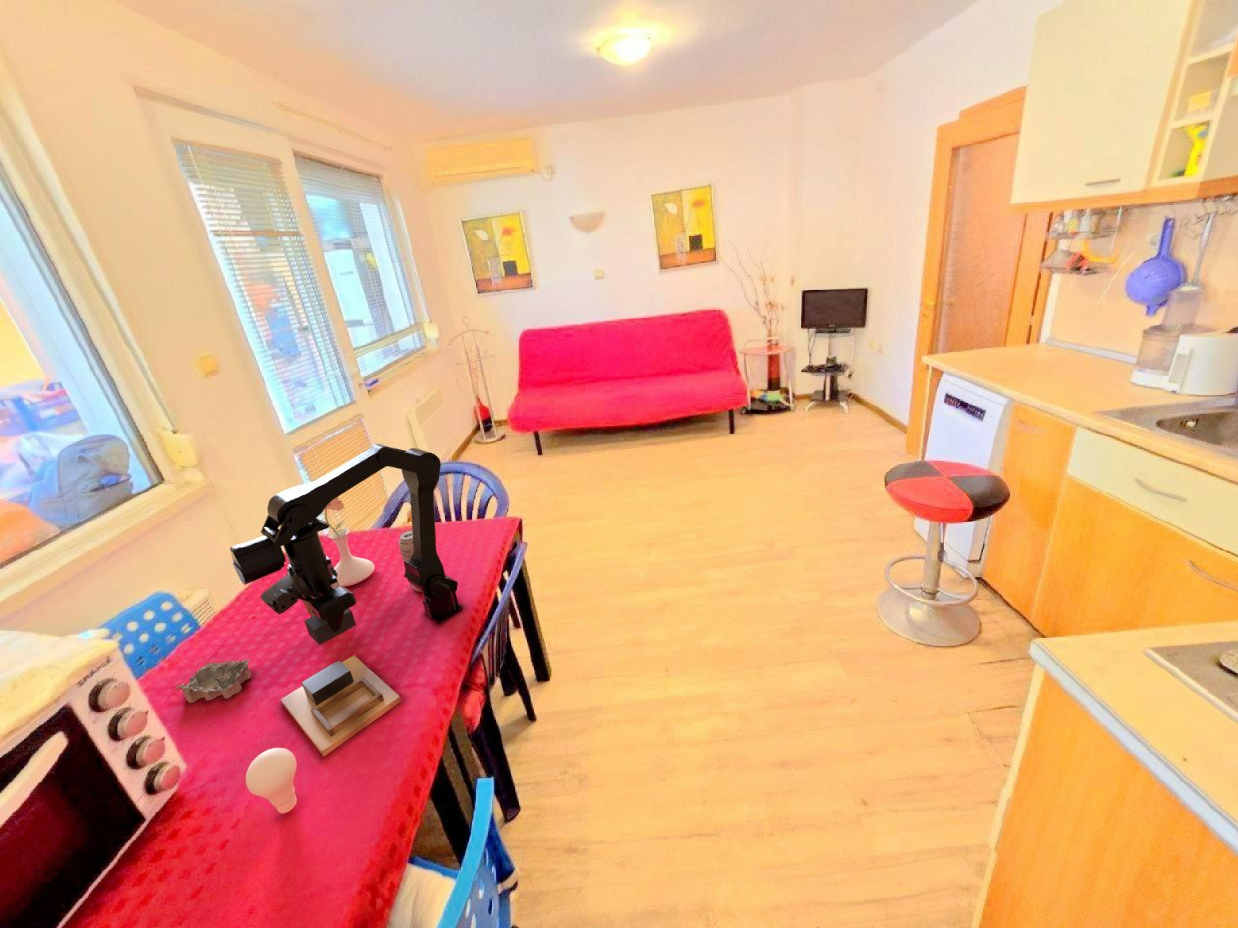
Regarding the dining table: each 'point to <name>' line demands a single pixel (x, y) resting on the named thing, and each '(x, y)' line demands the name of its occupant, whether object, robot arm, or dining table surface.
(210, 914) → the dining table surface
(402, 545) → the energy drink can
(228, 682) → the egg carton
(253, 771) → the lightbulb
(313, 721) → the backing board
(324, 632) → the dark rectangular block
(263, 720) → the dining table surface
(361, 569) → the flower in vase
